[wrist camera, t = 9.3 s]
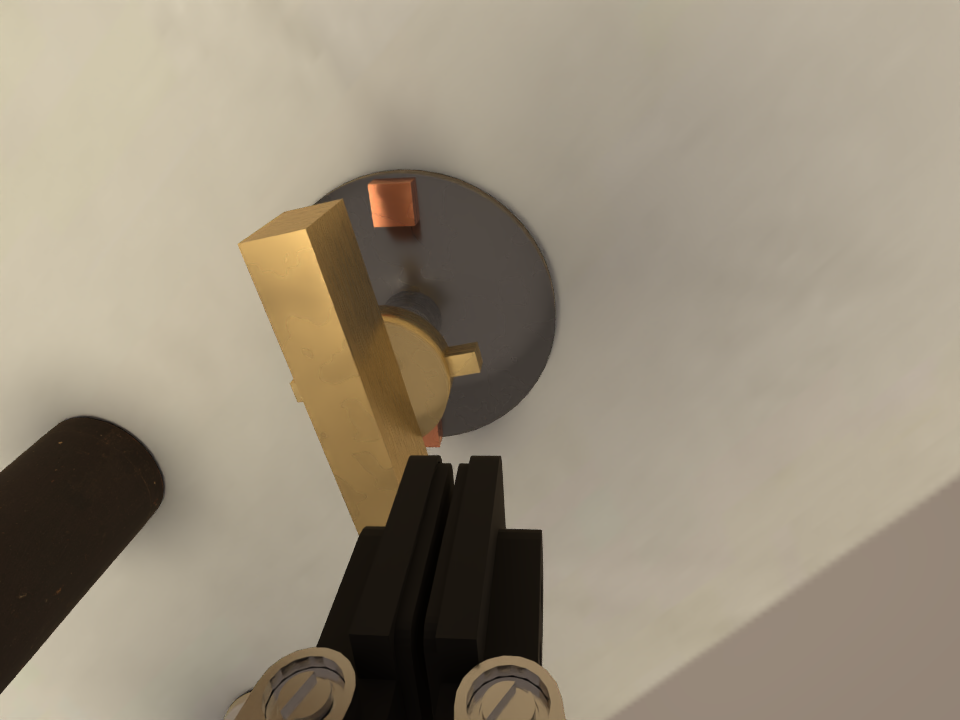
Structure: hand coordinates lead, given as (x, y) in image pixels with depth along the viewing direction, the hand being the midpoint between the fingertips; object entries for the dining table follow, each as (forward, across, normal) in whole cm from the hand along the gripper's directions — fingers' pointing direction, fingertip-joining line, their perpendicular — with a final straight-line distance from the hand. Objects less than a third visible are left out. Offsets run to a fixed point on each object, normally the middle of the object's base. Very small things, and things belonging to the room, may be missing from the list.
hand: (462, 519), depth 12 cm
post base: (+22, +6, +5) cm, 24 cm away
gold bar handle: (+16, +6, +5) cm, 18 cm away
